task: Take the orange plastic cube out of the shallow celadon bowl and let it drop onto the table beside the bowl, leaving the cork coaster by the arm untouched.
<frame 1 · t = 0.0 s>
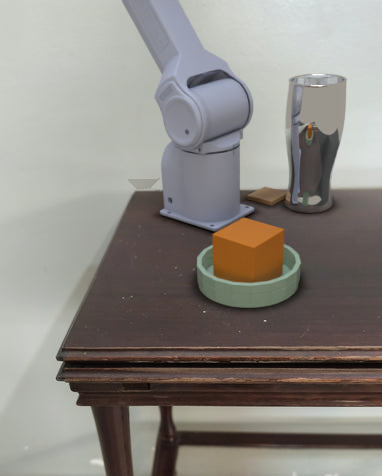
orange cube: (248, 277, 58), resting on celadon bowl
beer glass: (308, 205, 74), on the table
cork coaster: (267, 198, 77), on the table
celadon bowl: (247, 281, 58), on the table
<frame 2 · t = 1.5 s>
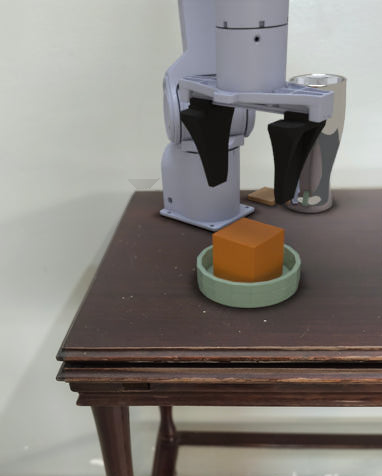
hand: (249, 191, 53), 9 cm above the table, tool pointing down, fingers open, 7 cm apart
nothing on the table moved.
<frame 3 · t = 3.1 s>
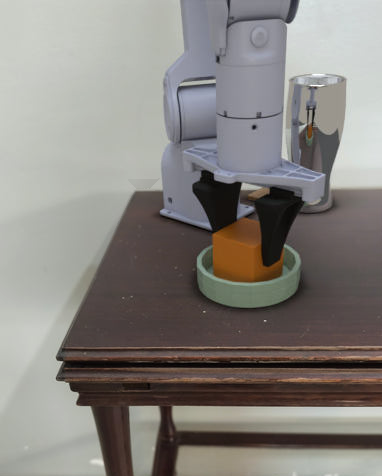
hand: (248, 254, 57), 3 cm above the table, tool pointing down, fingers closed on orange cube, 5 cm apart
orange cube: (248, 277, 58), point 1 cm above the table, touching celadon bowl, gripper
everything else where it was.
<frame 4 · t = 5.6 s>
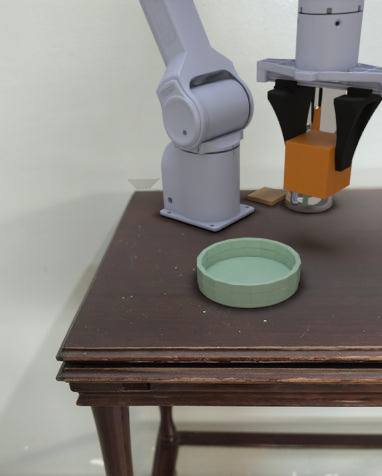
hand: (318, 163, 59), 9 cm above the table, tool pointing down, fingers closed on orange cube, 5 cm apart
orange cube: (316, 187, 60), point 7 cm above the table, touching gripper
everything else where it was.
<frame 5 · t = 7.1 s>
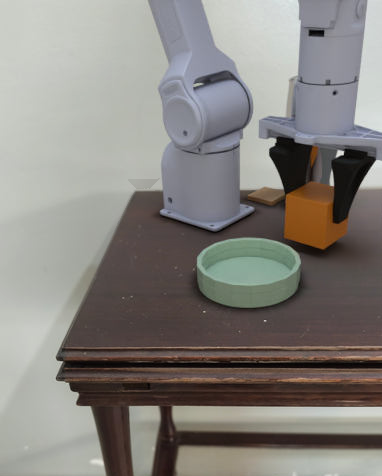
hand: (316, 214, 62), 4 cm above the table, tool pointing down, fingers closed on orange cube, 5 cm apart
orange cube: (315, 235, 64), point 1 cm above the table, touching gripper
everything else where it was.
when the fingers open (2 cm above the table, at t = 8.0 s): orange cube stays where it is, on the table.
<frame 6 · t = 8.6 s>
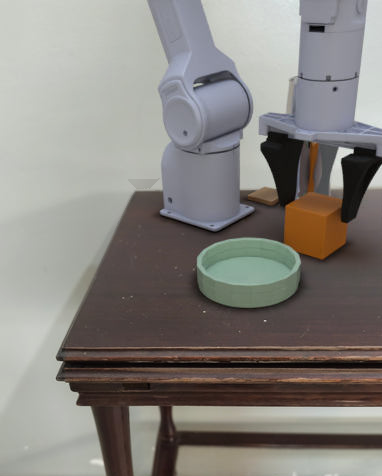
hand: (316, 211, 62), 4 cm above the table, tool pointing down, fingers open, 7 cm apart
orange cube: (314, 245, 64), on the table
everything else where it was.
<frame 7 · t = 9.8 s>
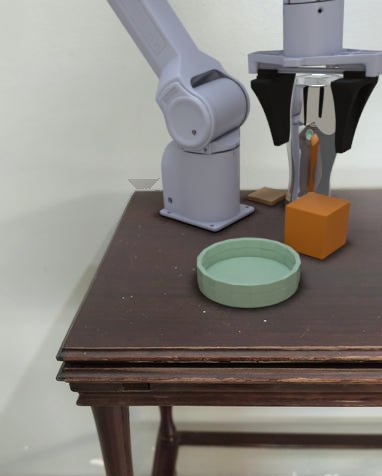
hand: (311, 147, 61), 10 cm above the table, tool pointing down, fingers open, 7 cm apart
nothing on the table moved.
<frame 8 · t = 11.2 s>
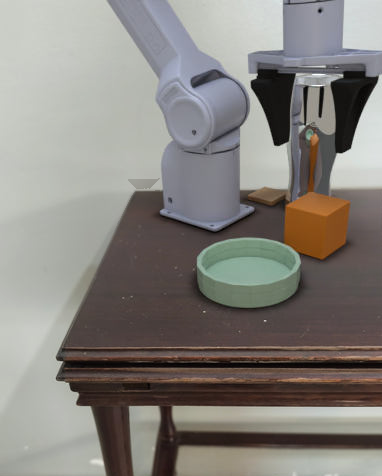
hand: (311, 147, 61), 10 cm above the table, tool pointing down, fingers open, 7 cm apart
nothing on the table moved.
at the end: orange cube inside the target area on the table beside the celadon bowl (0.5 cm from its centre), on the table; orange cube touching table; cork coaster moved 0.0 cm from its start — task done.
